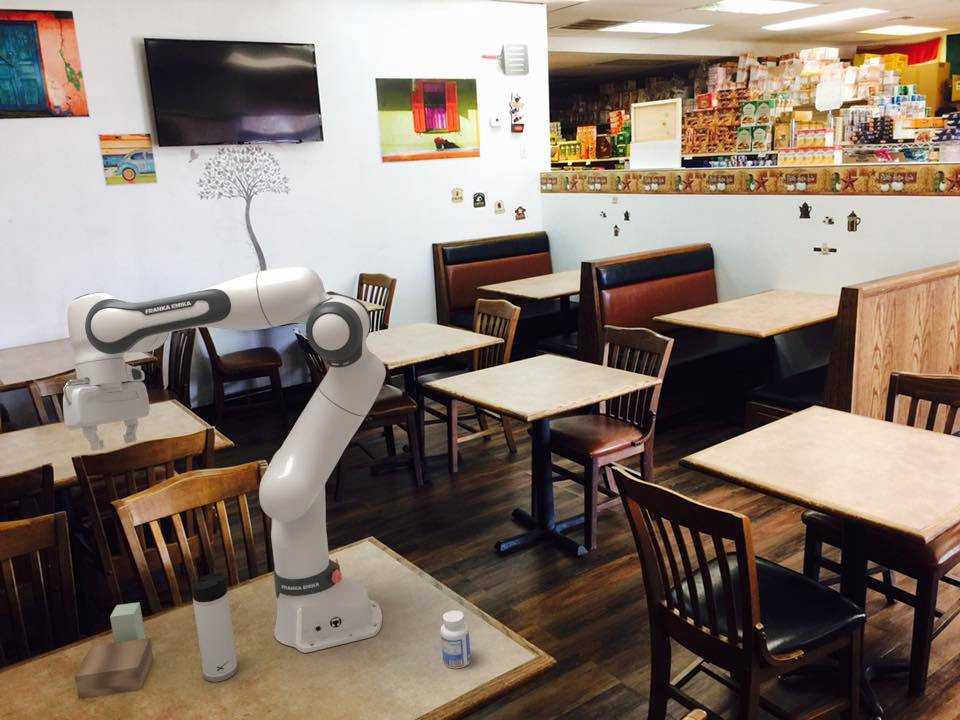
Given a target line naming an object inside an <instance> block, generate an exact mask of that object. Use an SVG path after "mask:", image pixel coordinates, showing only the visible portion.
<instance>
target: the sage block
mask: <svg viewBox="0 0 960 720" xmlns="http://www.w3.org/2000/svg"><path fill="white" fill-rule="evenodd" d="M140 603H141V602H131V603H124V604H123V603H122V604H117V605H116V606H115V607H114V609H113V611H112V612H111V614H110V616H109V617H110V625H111V631H112V635H113V641H114V642H113V643H117V642H125V641H132V640H139V639H146V634H145V626H144V621H143V615H142V610H141V604H140Z"/></svg>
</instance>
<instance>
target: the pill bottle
mask: <svg viewBox="0 0 960 720" xmlns="http://www.w3.org/2000/svg"><path fill="white" fill-rule="evenodd" d="M440 639H441V640H440V641H441V652H442V654H441V655H442V662H443V664H444V666H446V667H447V668H449V669H454V670H455V669H461V668H465V667H467V666H468V665H469V663H470V662H471V645H470V644H471V643H470V631H469V625H468V624H467V622H465V615H464V613H463V612H462V611H460V610H457V609H456V610H449V611H446V612H445V613H444V614H443V615H442V625H441V627H440Z"/></svg>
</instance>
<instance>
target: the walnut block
mask: <svg viewBox="0 0 960 720" xmlns="http://www.w3.org/2000/svg"><path fill="white" fill-rule="evenodd" d="M151 643H152V642H151V638H150V637H149V638H148V637H147V638H146V637H145V639H139V640H132V641H125V642H117V643H115V642H112V643H105V644H97V645H91V646H90V647H89V649H88V651H87V652H86V654H85V656H84V658H83V661H82V662H81V665H80V666H79V668H78V670H77V671H76V674H75V675H74V679H75V685H76V690H77V695H78V699H79V700H81V699H86V698H87V697H88V698H92V697H93V696H94V697H101V696H107V695H113V694H119V693H126V692H132V691H139V690H142V689H143V686H144V683H145V682H146V681H145V680H146V679H147V676H148V673H149V671H150V667H151V665H152V663H153V661H154V656H153V651H152V650H153V649H152V644H151ZM94 697H93V698H94ZM80 698H81V699H80Z"/></svg>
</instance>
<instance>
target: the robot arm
mask: <svg viewBox="0 0 960 720" xmlns="http://www.w3.org/2000/svg"><path fill="white" fill-rule="evenodd" d="M66 316H67V328H68V335H69V342H70V345H71V347H72V349H73V350H74V351H73V352H74V368H75V374H76V379H72V378H71V379H69V380H68V381H67V382H66V383H65V384H64V387H63V389H62V390H63V396H62V408H63V409H62V411H63V421H64V425H65V426H66V428H67V429H68V431H69V430H70V431H71V430H78V429H79V430H80V429H82V434H83V435H84V437H85V438H86V439H87V440H88V442H89V446H90V450H91V451H92V452H94V451H99V450H103V449H104V448H105V445H104V439H100V437H99V436H98V434H97V432H98V426H100V425H106V424H112V423H118V422H122V421H123V423H124V426H125V427H126V431H125V434H124V435H123V439H124V443H125V444H131V443H135V442H137V441H138V439H137V431H138V425H139V421H138V419H140V418H141V419H142V418H146V417H148V416H149V413H150V410H151V409H150V407H151V406H150V400H149V394H148V391H147V387H146V385H145V383H144V382H142V381H144V380H145V377H146V376H145V372H144V370H142V369H140V368H137V367H134V366H133V365H130V364H127V363H126V362H125V354H126V353H132V354H133V353H149V352H153V351H155V350H156V349H160V348H161V347H162V346H163V345H164V344H165V343H166V341H167V340H168V338H169V333H171V332H176V331H181V330H185V329H186V330H187V329H193V328H213V329H223V330H230V331H231V330H232V331H255V330H257V331H258V330H265V329H270V328H274V327H275V328H276V327H279V326H282V325H288V324H302V325H305V335H306V340H307V341H308V343H309V345H310V347H311V348H312V349H313V350H314V351H315V352H316V353H317V354H318V355H319V356H320V358H322V360H323V361H324V362H325V363H326V365H327V366H329V368H328V371H327V373H326V374H325V376H324V377H323V379H322V380H321V382H320V383H319V385H318V387H316V390H315V392H314V393H313V395H312V396H311V398H310V399H309V401H308V402H307V404H306V406H305V408H304V409H303V411H302V412H301V414H300V415H299V417H298V418H297V420H296V422H295V423H294V426H293V427H292V429H291V430H290V432H289V433H288V435H287V437H286V438H285V440H284V441H283V443H282V445H281V447H280V448H279V449H278V450H277V451H276V452H275V454H273V456H272V458H271V460H270V463H269V465H268V466H267V467H266V470H265V472H264V474H263V476H262V478H261V479H260V483H259V489H258V495H259V497H258V498H259V505H260V507H261V509H262V511H263V513H265V514H266V516H267V517H270V519H271V531H270V538H271V547H272V556H273V563H274V569H273V573H272V575H273V576H272V580H273V587H274V588H273V590H274V593H275V597H276V599H277V602H276V603H277V605H276V606H277V607H276V621H275V627H274V632H273V633H274V637H275V639H276V640H277V641H278V642H279V643H281V644H283V645H286V646H288V647H293V648H295V649H297V650H298V651H299V652H301V653H303V654H304V653H305V654H306V653H312V652H315V651H320V650H323V649H328V648H332V647H336V646H340V645H344V644H348V643H353V642H357V641H361V640H364V639H369V638H373V637H375V636H376V635H377V634H378V633H379V632H380V630H381V628H382V626H383V625H382V624H383V613H382V610H381V606H380V605H379V603H378V602H376V601H375V600H373V599H370V598H369V594H368V592H367V590H366V588H365V587H364V586H363V585H362V584H361V583H359V582H357V581H355V580H352V579H350V578H348V577H346V576H345V575H343V573H342V572H341V567H340V564H339V560H338V558H336V559H335V561H334V560H332V559H330V554H329V545H328V535H327V522H326V521H327V515H326V514H327V513H326V483H327V481H328V479H329V477H330V476H331V474H332V473H333V470H334V469H335V467H336V465H337V464H338V462H339V460H340V458H341V456H342V454H343V453H344V451H345V450H346V448H347V446H348V445H349V443H350V441H351V440H352V438H353V437H354V435H355V433H356V432H357V431H358V429H359V428H360V426H361V424H363V421H364V420H365V419H366V417H367V415H368V413H369V412H370V410H371V408H372V407H373V405H374V403H375V402H376V399H377V397H378V396H379V393H380V391H381V389H382V387H383V384H384V382H385V378H386V374H387V372H386V371H387V370H386V367H385V365H384V363H383V361H382V360H381V358H379V357H378V356H377V355H376V354H375V353H373V352H372V351H370V349H369V348H368V347H367V343H366V341H367V339H368V337H369V335H370V332H371V328H372V318H371V314H370V311H369V310H368V308H367V306H365V304H364V303H362V302H361V301H360V300H358V299H356V298H355V297H354V298H353V297H351V296H350V295H349V296H348V295H344V294H342V293H339V292H335V291H326V289H325V286H324V283H323V281H322V279H321V277H320V276H319V274H318V273H317V272H316V271H315V270H314V269H312V268H310V267H308V266H287V267H278V268H272V269H270V268H269V269H265V270H260V271H256V272H251V273H249V274H245V275H241V276H238V277H235V278H232V279H229V280H226V281H224V282H221V283H219V284H215V285H212V286H209V287H205V288H203V289H200V290H197V291H196V290H195V291H193V292H188V293H184V294H179V295H174V296H169V297H168V296H167V297H163V298H158V299H154V300H153V299H152V300H146V301H141V302H133V301H127V300H125V299H121V298H118V297H115V296H113V295H110V293H107V292H104V291H102V292H101V291H99V292H98V291H97V292H91V293H86V294H83V295H80V296H78V297H76V298H74V299H73V300H72V301H71V302H70V303H69V304H68V307H67V315H66Z"/></svg>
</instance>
